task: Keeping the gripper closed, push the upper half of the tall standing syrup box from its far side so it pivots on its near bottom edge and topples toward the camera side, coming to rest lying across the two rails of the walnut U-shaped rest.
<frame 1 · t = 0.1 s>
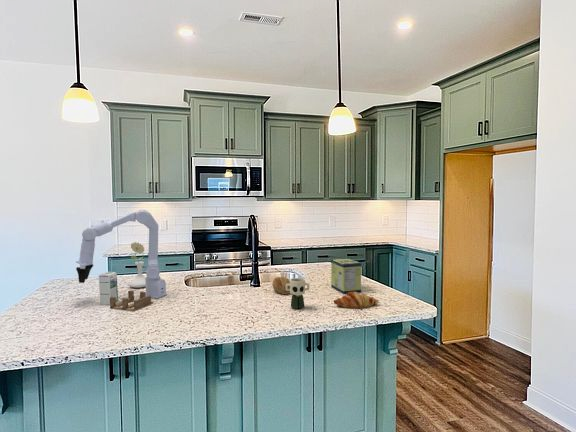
hand: (83, 280, 180), 11 cm above the countertop, tool pointing down, fingers open, 7 cm apart
rest: (128, 305, 176), on the countertop
character mug: (297, 308, 170), on the countertop
protein box: (345, 290, 201), on the countertop
croissant: (356, 306, 173), on the countertop
syrup box: (109, 303, 179), on the countertop
bread roll: (281, 292, 197), on the countertop
flower in vase: (139, 286, 210), on the countertop
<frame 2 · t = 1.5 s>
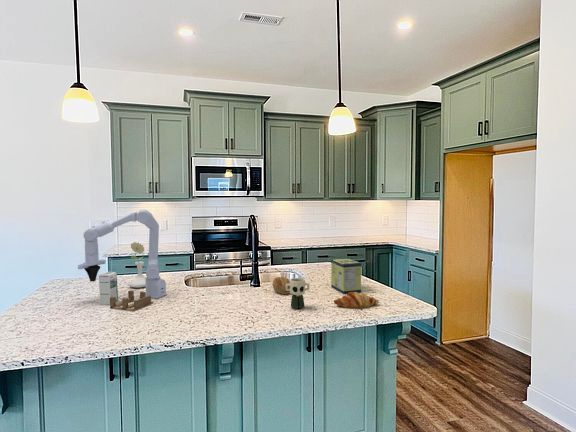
hand: (92, 281, 182), 10 cm above the countertop, tool pointing down, fingers closed
nothing on the countertop moved.
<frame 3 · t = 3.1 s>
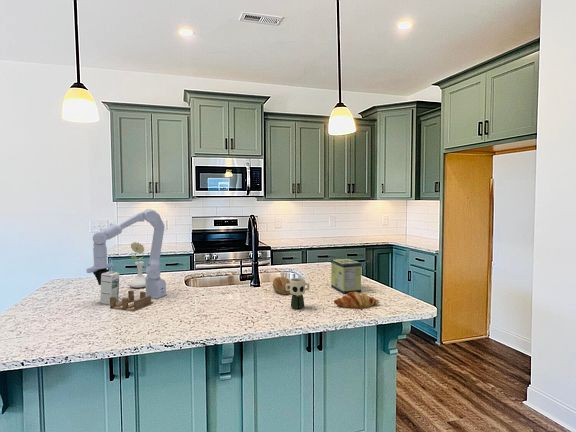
hand: (101, 284, 180), 8 cm above the countertop, tool pointing down, fingers closed
syrup box: (109, 302, 179), on the countertop, touching gripper
everything else where it was.
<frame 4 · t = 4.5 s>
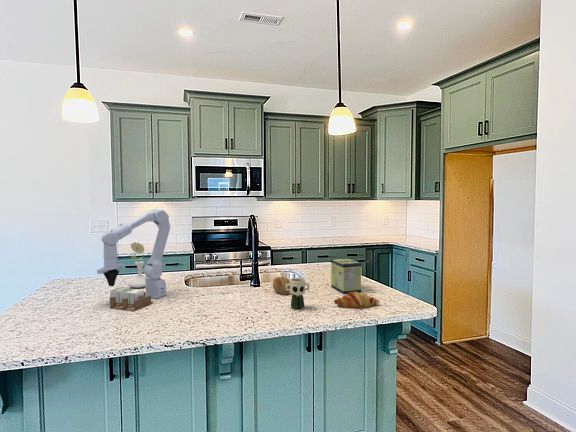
hand: (111, 285, 178), 8 cm above the countertop, tool pointing down, fingers closed
syrup box: (113, 294, 179), point 4 cm above the countertop, touching rest
everything else where it was.
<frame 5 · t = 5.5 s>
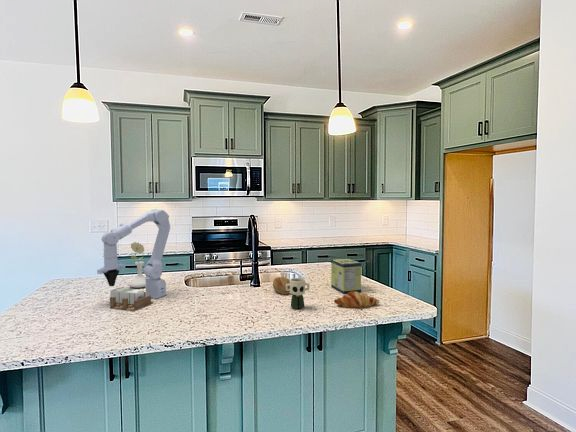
hand: (111, 285, 178), 8 cm above the countertop, tool pointing down, fingers closed
nothing on the countertop moved.
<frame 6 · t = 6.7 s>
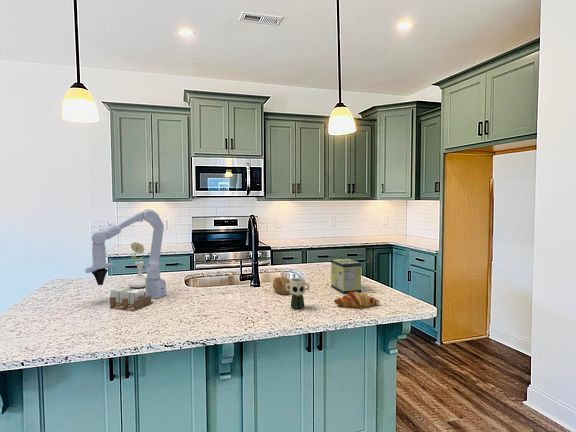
hand: (100, 284, 180), 8 cm above the countertop, tool pointing down, fingers closed
nothing on the countertop moved.
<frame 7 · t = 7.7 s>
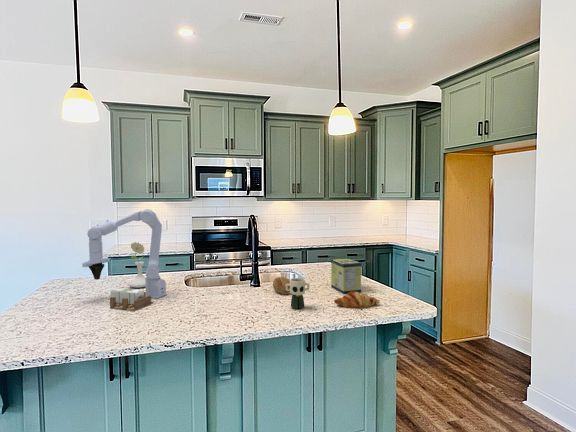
hand: (97, 279, 183), 10 cm above the countertop, tool pointing down, fingers closed
nothing on the countertop moved.
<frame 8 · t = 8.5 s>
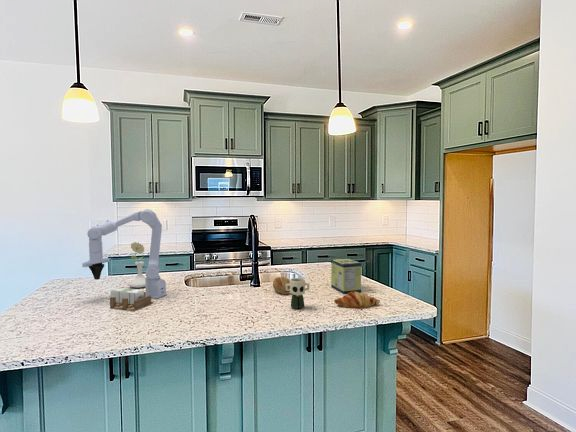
hand: (97, 279, 183), 10 cm above the countertop, tool pointing down, fingers closed
nothing on the countertop moved.
at the end: syrup box tilted 91°; syrup box inside the target area (1.9 cm from its centre), point 4.1 cm above the countertop; syrup box touching rest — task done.
